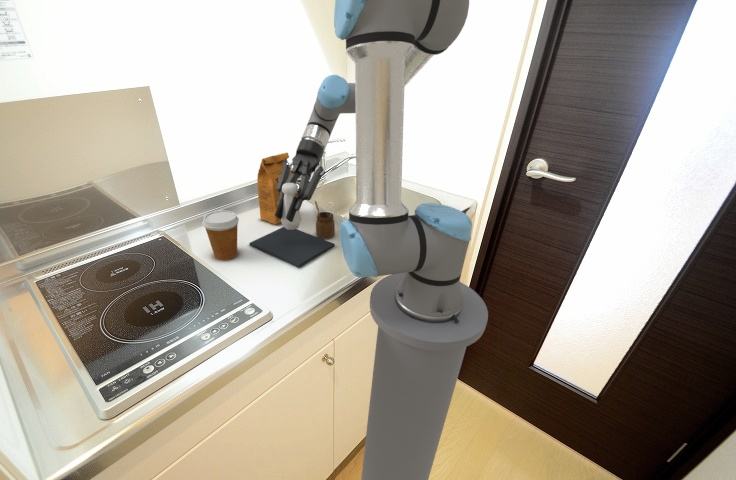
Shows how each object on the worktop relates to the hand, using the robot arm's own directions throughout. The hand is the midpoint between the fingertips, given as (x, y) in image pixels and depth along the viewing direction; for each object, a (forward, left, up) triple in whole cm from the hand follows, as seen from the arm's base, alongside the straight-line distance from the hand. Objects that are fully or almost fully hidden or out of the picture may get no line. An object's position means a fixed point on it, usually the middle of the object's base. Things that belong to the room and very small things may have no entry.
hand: (283, 218), depth 102 cm
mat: (+1, -4, -11) cm, 11 cm away
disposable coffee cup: (+12, +12, -11) cm, 20 cm away
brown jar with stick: (-2, -16, -11) cm, 19 cm away
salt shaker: (+1, -4, -4) cm, 6 cm away
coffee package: (+18, -16, -11) cm, 26 cm away
